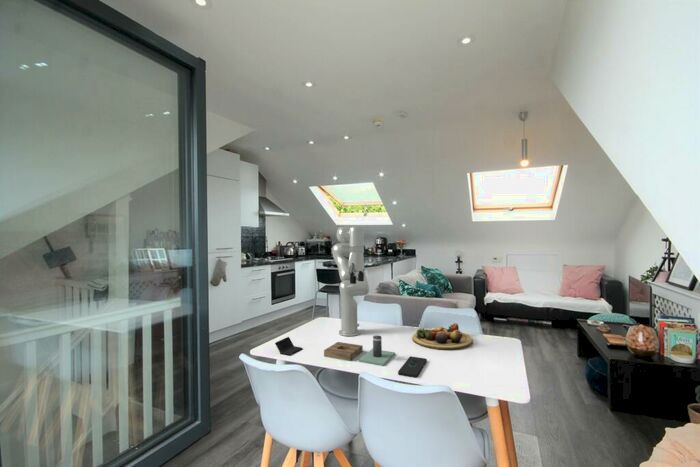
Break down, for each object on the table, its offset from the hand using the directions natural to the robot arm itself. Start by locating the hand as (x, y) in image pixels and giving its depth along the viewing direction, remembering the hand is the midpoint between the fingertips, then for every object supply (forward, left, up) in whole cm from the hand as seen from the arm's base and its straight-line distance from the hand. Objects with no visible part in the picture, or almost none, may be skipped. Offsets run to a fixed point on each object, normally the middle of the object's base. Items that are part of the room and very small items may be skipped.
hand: (357, 282), depth 174 cm
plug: (+12, +16, -32) cm, 38 cm away
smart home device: (+16, +34, -34) cm, 51 cm away
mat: (+12, +16, -33) cm, 39 cm away
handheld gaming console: (+22, -28, -34) cm, 49 cm away
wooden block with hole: (+14, -1, -33) cm, 36 cm away
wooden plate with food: (-27, +38, -34) cm, 58 cm away
